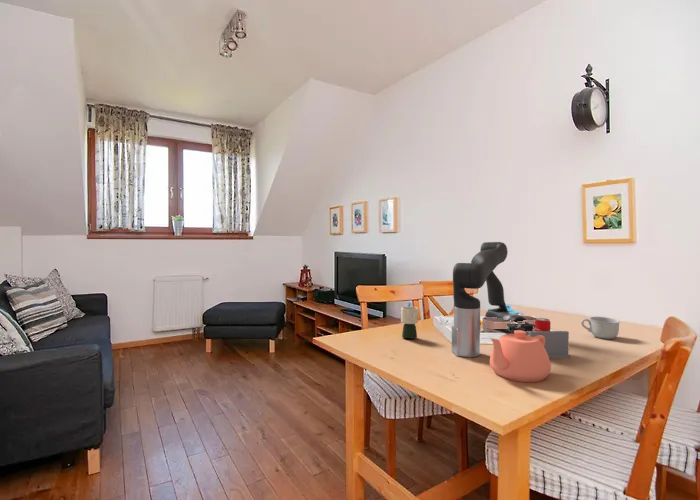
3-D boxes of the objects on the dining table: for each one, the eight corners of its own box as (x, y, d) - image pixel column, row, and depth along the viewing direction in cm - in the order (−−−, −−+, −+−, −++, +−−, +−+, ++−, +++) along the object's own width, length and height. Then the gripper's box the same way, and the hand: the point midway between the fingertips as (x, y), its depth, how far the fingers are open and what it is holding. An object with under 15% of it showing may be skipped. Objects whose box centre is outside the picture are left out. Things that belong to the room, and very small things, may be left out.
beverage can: (552, 353, 139) (552, 320, 139) (536, 352, 140) (537, 320, 140) (547, 349, 144) (548, 318, 144) (533, 348, 145) (533, 317, 145)
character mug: (422, 341, 155) (422, 309, 155) (406, 342, 154) (406, 310, 153) (412, 334, 166) (412, 305, 166) (397, 335, 164) (397, 305, 164)
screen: (532, 358, 132) (532, 333, 132) (526, 355, 136) (526, 330, 136) (570, 358, 133) (570, 332, 133) (563, 354, 137) (563, 330, 137)
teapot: (514, 391, 104) (514, 342, 103) (467, 372, 118) (468, 330, 118) (568, 375, 116) (568, 332, 115) (520, 360, 130) (520, 322, 130)
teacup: (618, 336, 164) (618, 318, 164) (620, 342, 155) (620, 322, 155) (580, 332, 171) (581, 314, 171) (580, 337, 162) (580, 318, 162)
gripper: (498, 314, 162) (518, 322, 145) (530, 314, 163) (553, 322, 146) (498, 332, 162) (518, 342, 146) (530, 331, 163) (553, 341, 147)
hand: (535, 332), depth 146 cm, fingers open, 8 cm apart
